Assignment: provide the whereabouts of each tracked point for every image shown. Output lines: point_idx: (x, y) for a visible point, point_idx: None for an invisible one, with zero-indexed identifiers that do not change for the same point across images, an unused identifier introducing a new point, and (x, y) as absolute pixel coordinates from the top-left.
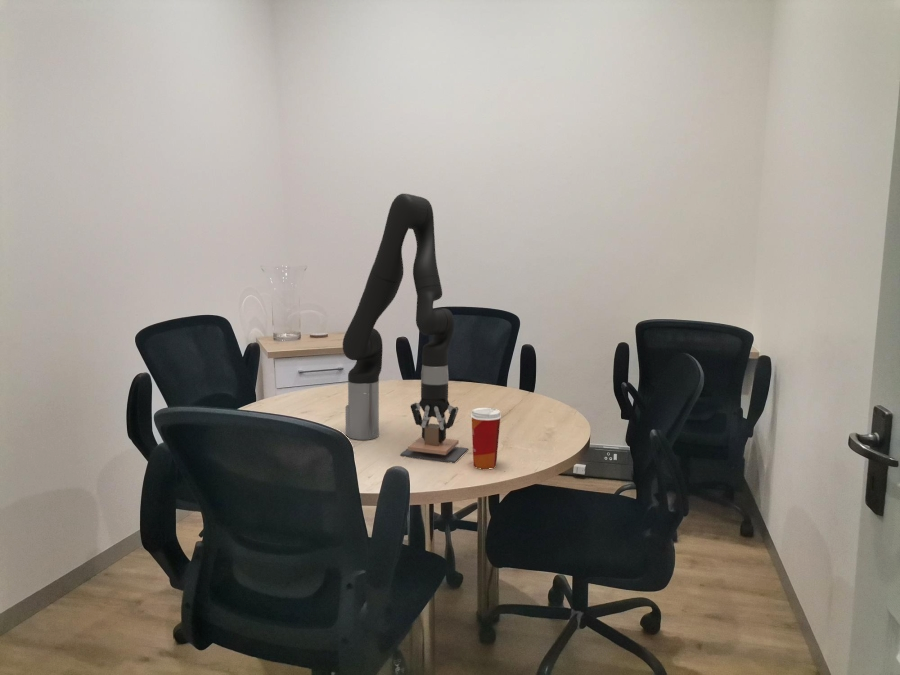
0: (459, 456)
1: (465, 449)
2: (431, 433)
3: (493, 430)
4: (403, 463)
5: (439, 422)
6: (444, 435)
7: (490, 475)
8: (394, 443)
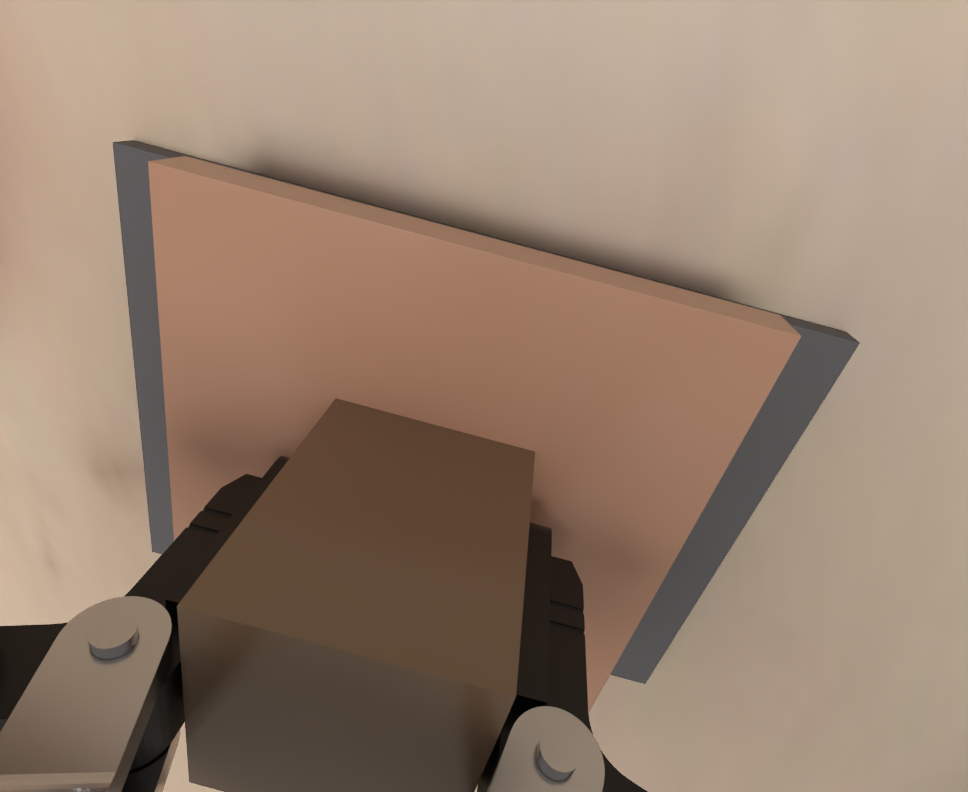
0: (131, 321)
1: (161, 520)
2: (383, 548)
3: None
4: (830, 3)
5: (77, 785)
6: (188, 537)
7: None
8: (865, 676)
